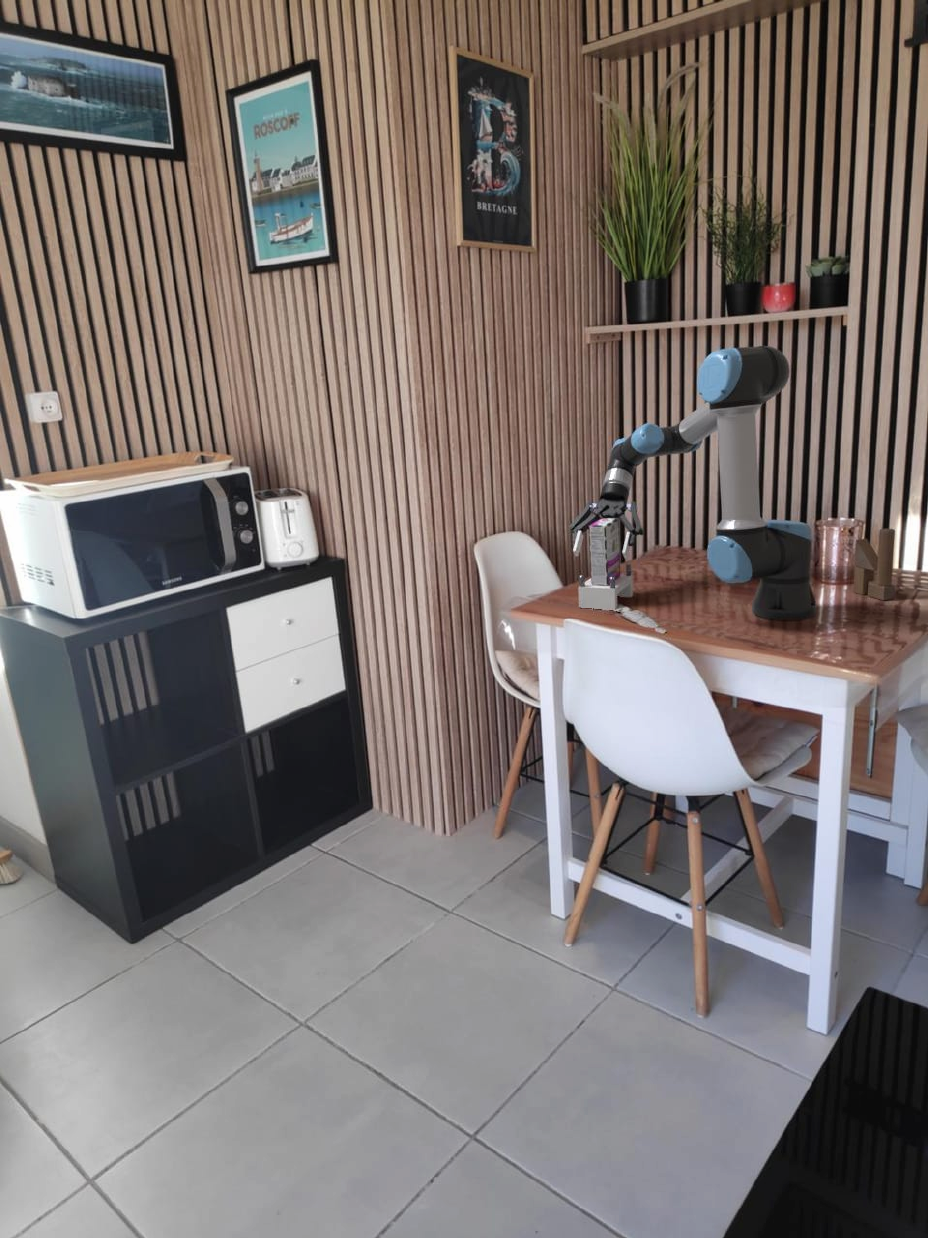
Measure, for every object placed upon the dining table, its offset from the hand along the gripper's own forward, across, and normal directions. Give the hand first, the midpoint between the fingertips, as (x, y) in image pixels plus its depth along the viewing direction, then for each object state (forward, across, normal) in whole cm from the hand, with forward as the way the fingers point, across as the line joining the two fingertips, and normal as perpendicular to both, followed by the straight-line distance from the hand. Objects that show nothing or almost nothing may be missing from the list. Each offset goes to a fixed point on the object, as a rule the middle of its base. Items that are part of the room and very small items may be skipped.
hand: (599, 554), depth 240 cm
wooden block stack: (-8, -66, -28) cm, 72 cm away
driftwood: (+15, -9, -6) cm, 19 cm away
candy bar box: (+3, 0, -9) cm, 9 cm away
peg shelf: (+7, 0, -13) cm, 15 cm away
